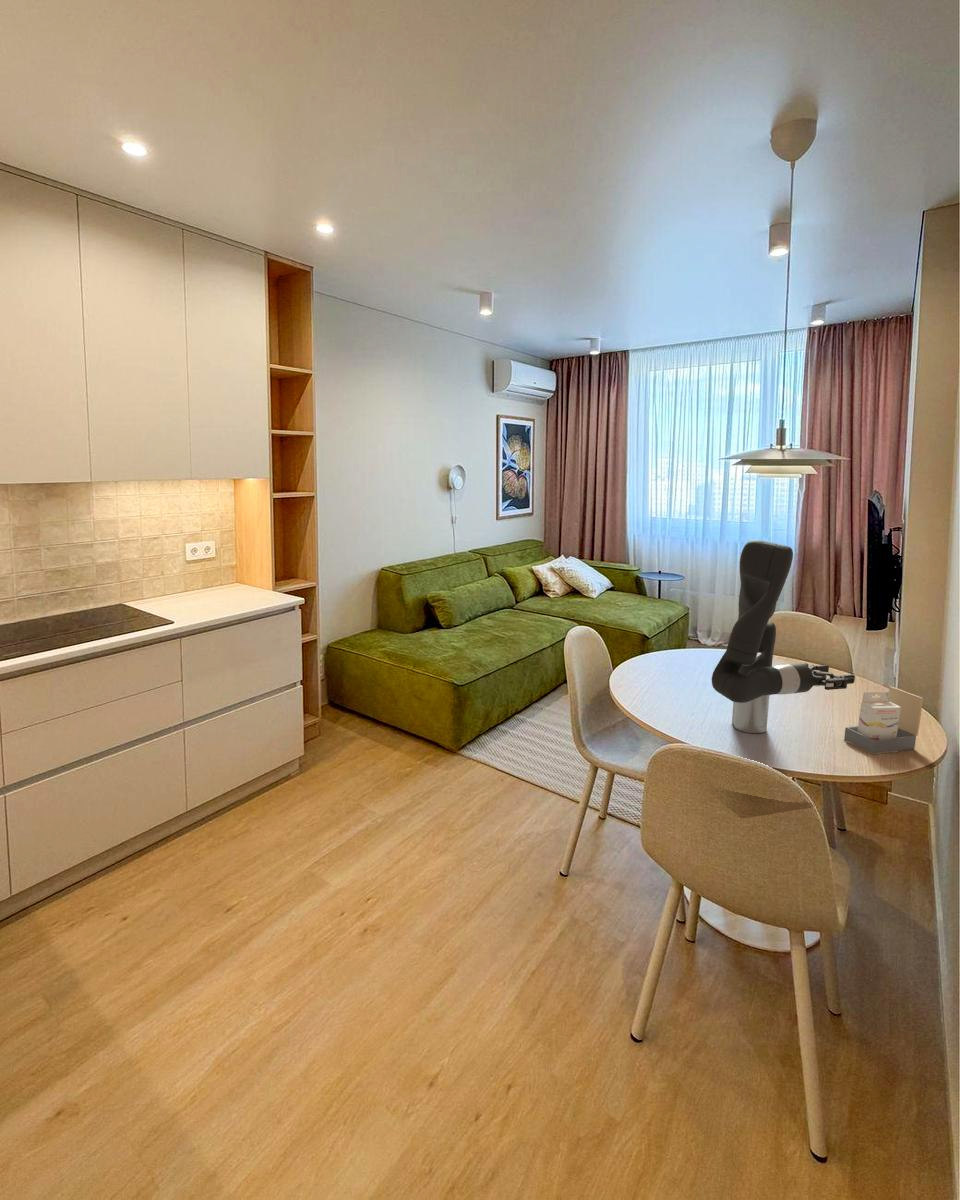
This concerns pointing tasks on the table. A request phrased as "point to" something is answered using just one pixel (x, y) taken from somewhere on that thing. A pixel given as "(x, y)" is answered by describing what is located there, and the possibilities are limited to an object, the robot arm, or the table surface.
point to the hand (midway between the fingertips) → (840, 673)
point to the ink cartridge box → (878, 716)
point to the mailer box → (906, 726)
